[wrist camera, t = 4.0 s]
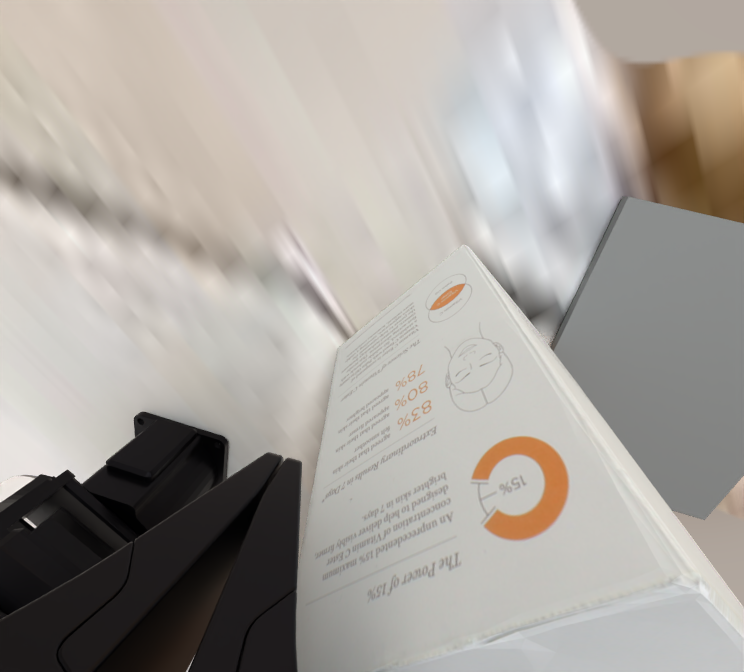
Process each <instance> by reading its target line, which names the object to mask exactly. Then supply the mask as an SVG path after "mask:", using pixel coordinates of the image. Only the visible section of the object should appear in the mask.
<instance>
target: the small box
mask: <svg viewBox="0 0 744 672" xmlns="http://www.w3.org/2000/svg"><path fill="white" fill-rule="evenodd" d="M296 648H297V666H298V672H744V607H743V606H742V604H741V603H740V602H739V600H738V599H737V598H736V596H735V595H734V594H733V592H732V591H731V590H730V588H729V587H728V586H727V584H726V583H725V582H724V580H723V579H722V578H721V576H720V575H719V574H718V572H717V571H716V570H715V568H714V567H713V566H712V564H711V563H710V561H709V560H708V559H707V557H706V556H705V555H704V553H703V552H702V551H701V549H700V548H699V547H698V545H697V544H696V543H695V541H694V540H693V538H692V537H691V536H690V534H689V533H688V532H687V530H686V529H685V528H684V526H683V525H682V524H681V522H680V521H679V520H678V518H677V517H676V516H675V515H674V513H673V512H672V510H671V509H670V508H669V506H668V505H667V504H666V502H665V501H664V500H663V498H662V497H661V496H660V494H659V493H658V492H657V490H656V489H655V487H654V486H653V485H652V483H651V482H650V481H649V479H648V478H647V477H646V475H645V474H644V473H643V471H642V470H641V469H640V467H639V466H638V465H637V463H636V462H635V460H634V459H633V458H632V456H631V455H630V454H629V452H628V451H627V450H626V448H625V447H624V446H623V444H622V443H621V442H620V440H619V439H618V438H617V436H616V435H615V433H614V432H613V431H612V429H611V428H610V427H609V425H608V424H607V423H606V421H605V420H604V419H603V417H602V416H601V415H600V413H599V412H598V411H597V409H596V408H595V407H594V405H593V404H592V403H591V401H590V400H589V399H588V397H587V396H586V395H585V393H584V392H583V390H582V389H581V388H580V386H579V385H578V384H577V382H576V381H575V380H574V378H573V377H572V376H571V374H570V373H569V372H568V370H567V369H566V368H565V367H564V365H563V364H562V363H561V361H560V360H559V359H558V357H557V356H556V355H555V353H554V352H553V351H552V349H551V348H550V346H549V345H548V344H547V342H546V341H545V340H544V339H543V337H542V336H541V335H540V333H539V332H538V331H537V330H536V328H535V327H534V326H533V325H532V323H531V322H530V321H529V320H528V319H527V317H526V316H525V315H524V314H523V312H522V311H521V310H520V309H519V307H518V306H517V305H516V304H515V303H514V301H513V300H512V299H511V298H510V296H509V295H508V294H507V293H506V291H505V290H504V289H503V288H502V286H501V285H500V284H499V283H498V282H497V280H496V279H495V278H494V277H493V276H492V274H491V273H490V272H489V271H488V269H487V268H486V267H485V266H484V265H483V263H482V262H481V261H480V260H479V258H478V257H477V256H476V255H475V254H474V252H473V251H472V250H471V249H470V248H469V247H468V246H466V245H462V246H461V247H460V248H458V249H457V250H456V251H455V252H453V253H452V254H451V255H450V256H449V257H447V258H446V259H445V260H444V261H443V262H441V263H440V264H439V265H438V266H436V267H435V268H434V269H433V270H431V271H430V272H429V273H428V274H427V275H425V276H424V277H423V278H422V279H421V280H419V281H418V282H417V283H416V284H415V285H413V286H412V287H411V288H410V289H409V290H407V291H406V292H405V293H404V294H402V295H401V296H400V297H399V298H398V299H396V300H395V301H394V302H393V303H391V304H390V305H389V306H388V307H387V308H385V309H384V310H383V311H382V312H381V313H379V314H378V315H377V316H376V317H375V318H373V319H372V320H371V321H370V322H369V323H367V324H366V325H365V326H364V327H363V328H361V329H360V330H359V331H358V332H357V333H355V334H354V335H353V336H352V337H351V338H349V339H348V340H347V341H346V342H345V343H343V344H342V345H341V346H340V347H339V348H338V351H337V357H336V363H335V369H334V374H333V379H332V385H331V391H330V397H329V402H328V408H327V413H326V419H325V424H324V429H323V435H322V440H321V446H320V451H319V456H318V461H317V467H316V472H315V478H314V483H313V489H312V494H311V500H310V505H309V511H308V516H307V522H306V527H305V532H304V538H303V543H302V549H301V554H300V560H299V565H298V579H297V609H296Z"/></svg>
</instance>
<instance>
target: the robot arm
mask: <svg viewBox="0 0 744 672" xmlns="http://www.w3.org/2000/svg"><path fill="white" fill-rule="evenodd" d="M134 428H135V438H134V439H133V440H131V441H130V442H129V443H128V444H126V445H125V446H124V447H123V448H121V449H120V450H119V451H118V452H116V453H115V454H114V455H113V456H112V457H110V458H109V459H108V460H107V461H106V465H104V466H103V467H102V468H101V469H100V470H98V471H97V472H96V473H95V474H93V475H92V476H91V477H90V478H89V479H87V480H86V481H85V482H84V483H82V484H81V483H79V482H78V481H77V480H76V479H75V478H74V477H75V475H74V474H72V473H71V472H70V471H69V470H66V471H65V472H63V473H62V474H61V475H59V476H58V477H54V476H53V477H50V476H46V475H42V474H41V475H39V476H38V477H36V478H35V479H34V480H32V481H31V482H29V483H28V484H26V485H25V486H24V487H22V488H21V489H19V490H18V491H17V492H15V493H14V494H12V495H11V496H9V497H8V498H6V499H5V500H3V501H2V502H0V672H186V670H187V668H188V667H189V665H190V663H191V661H192V659H193V657H194V656H195V657H194V659H193V662H192V664H191V666H190V669H189V671H188V672H298V666H297V648H296V609H297V579H298V553H299V527H300V501H301V475H302V462H301V461H298V460H295V459H291V458H287V459H285V461H284V462H283V457H282V456H281V455H277V454H274V453H266V454H264V455H263V456H261V457H260V458H258V459H257V460H255V461H254V462H252V463H250V464H249V465H247V466H246V467H244V468H243V469H241V470H240V471H238V472H237V473H235V474H234V475H232V476H231V477H229V478H228V479H226V471H227V456H228V441H227V439H226V438H225V437H223V436H221V435H217V434H214V433H211V432H208V431H204V430H201V429H198V428H195V427H192V426H188V425H185V424H182V423H179V422H175V421H172V420H169V419H166V418H163V417H159V416H156V415H153V414H150V413H146V412H140V413H139V414H137V415H136V416H135V417H134ZM219 443H220V444H219ZM25 518H27V519H28V520H29V521H31V522H32V523H33V524H34V525H36V526H37V527H36V528H34V527H32V526H31V525H30V524H29V523H27V522H26V521H25V520H24V519H25Z"/></svg>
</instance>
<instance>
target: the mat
mask: <svg viewBox="0 0 744 672" xmlns="http://www.w3.org/2000/svg"><path fill="white" fill-rule="evenodd" d="M551 349H552V351H553V352H554V353H555V355H556V356H557V357H558V359H559V360H560V361H561V363H562V364H563V365H564V367H565V368H566V369H567V370H568V372H569V373H570V374H571V376H572V377H573V378H574V380H575V381H576V382H577V384H578V385H579V386H580V388H581V389H582V390H583V392H584V393H585V395H586V396H587V397H588V399H589V400H590V401H591V403H592V404H593V405H594V407H595V408H596V409H597V411H598V412H599V413H600V415H601V416H602V417H603V419H604V420H605V421H606V423H607V424H608V425H609V427H610V428H611V429H612V431H613V432H614V433H615V435H616V436H617V438H618V439H619V440H620V442H621V443H622V444H623V446H624V447H625V448H626V450H627V451H628V452H629V454H630V455H631V456H632V458H633V459H634V460H635V462H636V463H637V465H638V466H639V467H640V469H641V470H642V471H643V473H644V474H645V475H646V477H647V478H648V479H649V481H650V482H651V483H652V485H653V486H654V487H655V489H656V490H657V492H658V493H659V494H660V496H661V497H662V498H663V500H664V501H665V502H666V504H667V505H668V506H669V508H670V509H671V510H672V511H676V512H679V513H683V514H686V515H689V516H693V517H696V518H700V519H703V520H705V519H706V518H707V517H708V516H709V514H710V513H711V512H712V511H713V510H714V509H715V508H716V506H717V505H718V504H719V503H720V502H721V501H722V500H723V498H724V497H725V496H726V495H727V494H728V493H729V492H730V490H731V489H732V488H733V487H734V486H735V485H736V484H737V482H738V481H739V480H740V479H741V478H742V477H743V476H744V224H743V223H739V222H735V221H730V220H726V219H722V218H718V217H713V216H709V215H705V214H700V213H696V212H692V211H688V210H683V209H679V208H675V207H670V206H666V205H662V204H658V203H653V202H649V201H645V200H640V199H636V198H632V197H622V199H621V201H620V203H619V205H618V207H617V210H616V212H615V214H614V216H613V218H612V220H611V222H610V224H609V226H608V228H607V230H606V233H605V235H604V237H603V239H602V241H601V243H600V245H599V247H598V249H597V251H596V253H595V256H594V258H593V260H592V262H591V264H590V266H589V268H588V270H587V272H586V274H585V276H584V279H583V281H582V283H581V285H580V287H579V289H578V291H577V293H576V295H575V297H574V300H573V302H572V304H571V306H570V308H569V310H568V312H567V314H566V316H565V318H564V320H563V323H562V325H561V327H560V329H559V331H558V333H557V335H556V337H555V339H554V341H553V343H552V346H551Z"/></svg>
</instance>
